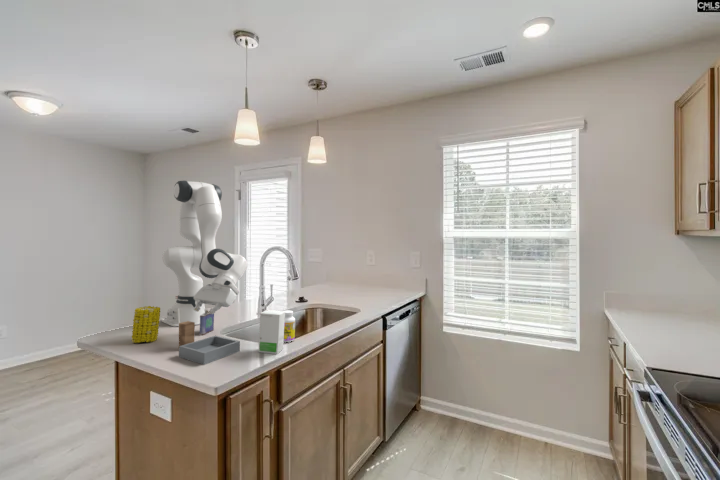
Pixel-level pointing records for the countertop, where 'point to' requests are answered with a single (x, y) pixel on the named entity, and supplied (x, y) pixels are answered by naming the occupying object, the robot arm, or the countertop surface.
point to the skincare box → (271, 331)
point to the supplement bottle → (289, 326)
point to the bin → (209, 349)
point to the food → (145, 324)
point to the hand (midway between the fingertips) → (203, 312)
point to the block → (186, 332)
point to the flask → (206, 322)
